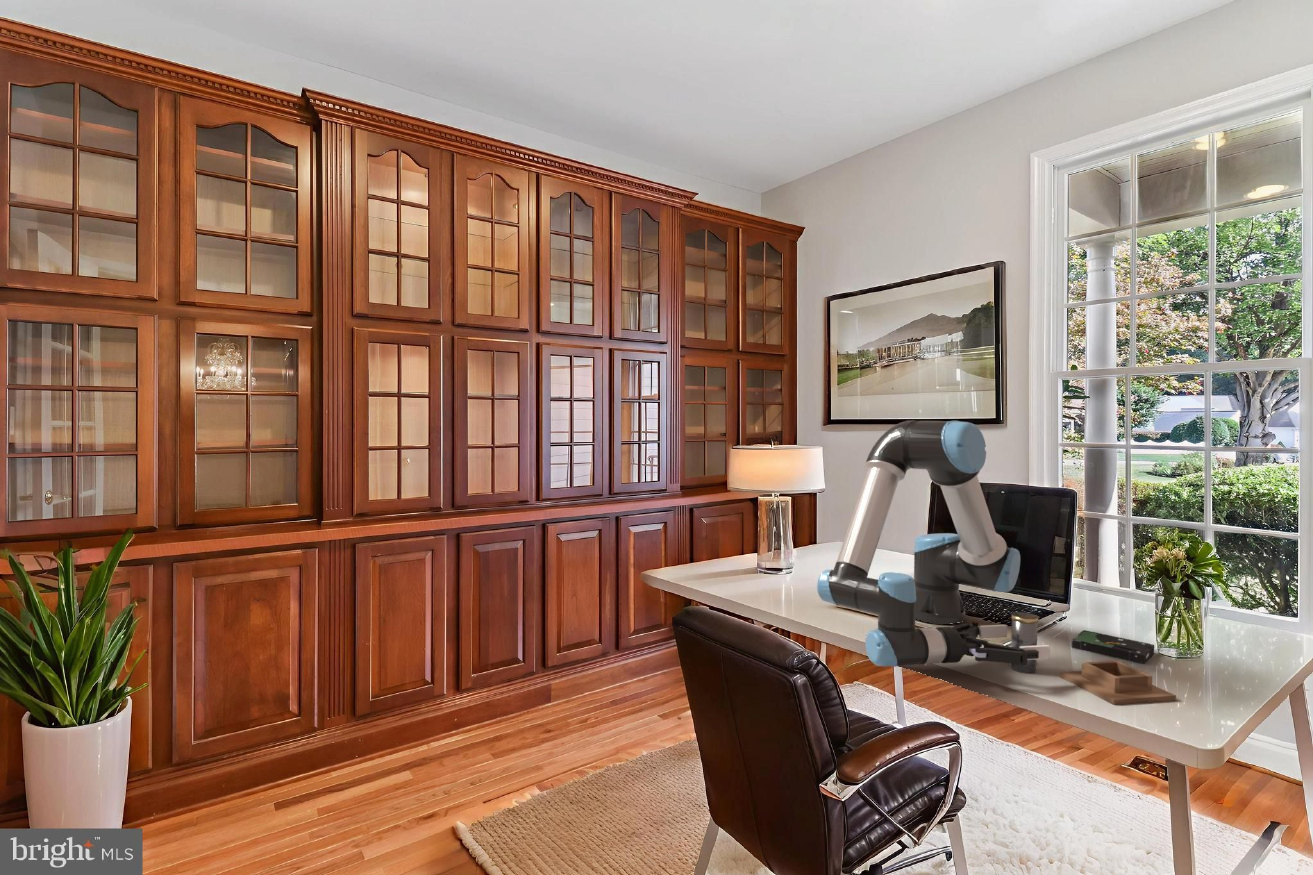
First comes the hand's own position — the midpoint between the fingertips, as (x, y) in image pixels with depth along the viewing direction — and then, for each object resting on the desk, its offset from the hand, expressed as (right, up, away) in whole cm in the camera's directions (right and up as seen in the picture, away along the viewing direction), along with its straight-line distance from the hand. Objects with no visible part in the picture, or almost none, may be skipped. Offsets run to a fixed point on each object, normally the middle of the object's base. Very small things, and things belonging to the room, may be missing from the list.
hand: (1026, 640), depth 148 cm
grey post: (0, -7, +1) cm, 7 cm away
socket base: (+13, -7, -9) cm, 18 cm away
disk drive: (+28, -7, +13) cm, 31 cm away
